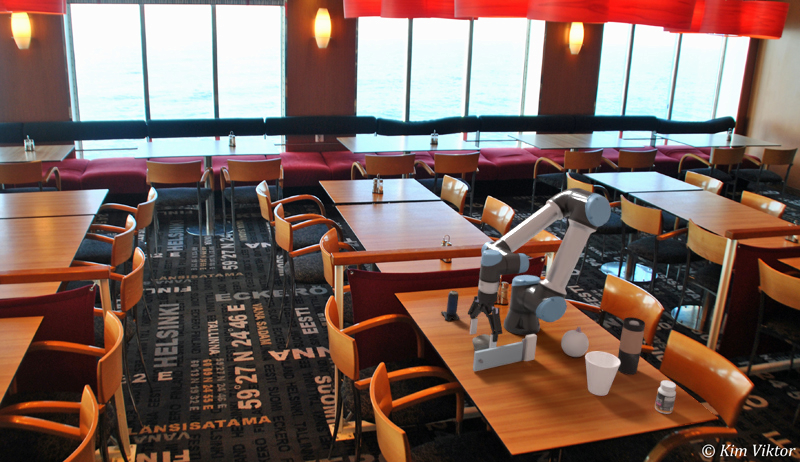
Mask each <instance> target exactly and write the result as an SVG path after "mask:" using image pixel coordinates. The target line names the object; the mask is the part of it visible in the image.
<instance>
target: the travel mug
mask: <svg viewBox="0 0 800 462" xmlns="http://www.w3.org/2000/svg"><path fill="white" fill-rule="evenodd" d="M645 328H646V322H645V321H644V320H642V319H640V318H638V317H632V316H631V317H629V316H628V317H625V318H624V319H623V323H622V331H621V335H620V341H619V347H618V354H617V355H618V356H617V358H618V359H619V360H620V362H621V363H620V365H619V368H618V370H617V372H620V373H621V374H625V375H635V374H636V373H637V370H638V366H639V361H640V356H641V351H642V347H643V341H644V340H643V339H644V333H645Z"/></svg>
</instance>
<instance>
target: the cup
mask: <svg viewBox="0 0 800 462" xmlns="http://www.w3.org/2000/svg"><path fill="white" fill-rule="evenodd" d="M584 355H585V356H584V358H585V366H586V367H585V368H586V379H587V382H586V383H587V389H588V392H589V393H590V394H593V395H595V396H602V397H603V396H606V395H608V394H609V391H610V389H611V387H612V384H613V381H614V380H615V377H616V375H617V373H618V368H619V365H620V363H621V362H620V360H619V359H618V356H616V355H614V354H612V353H610V352H607V351H602V350H601V351H596V350H593V351H589V352H586V353H585V354H584Z"/></svg>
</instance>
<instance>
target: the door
mask: <svg viewBox="0 0 800 462" xmlns="http://www.w3.org/2000/svg"><path fill="white" fill-rule="evenodd" d="M525 349H526V339H525V338H522V339H521V341H517V342H514V343H508V344H503V345H499V346H497V347H494V348H489V349H484V350H479V351H475V350H474V353H473V365H472V371H473V372H477V371H483V370H486V369H492V368H496V367H499V366H505V365H509V364H512V363H513V364H514V363H517V362H521V361H522V362H523V361H525V360H524V357H525Z"/></svg>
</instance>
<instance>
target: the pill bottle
mask: <svg viewBox="0 0 800 462" xmlns="http://www.w3.org/2000/svg"><path fill="white" fill-rule="evenodd" d="M676 388H677V385H676V383H675V382H673V381H670V380H667V379H666V380H661V381H660V386H659V387H658V388H657V393H656V396H655V397H656V399H655V403H654V408H655V410H656V411H657V412H659V413H661V414H665V415H666V414H667V415H669V414H671V413H673V411H674V406H675V400H676V394H677V391H676Z"/></svg>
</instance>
